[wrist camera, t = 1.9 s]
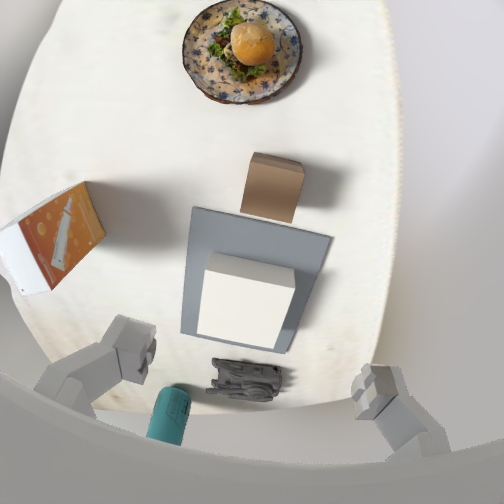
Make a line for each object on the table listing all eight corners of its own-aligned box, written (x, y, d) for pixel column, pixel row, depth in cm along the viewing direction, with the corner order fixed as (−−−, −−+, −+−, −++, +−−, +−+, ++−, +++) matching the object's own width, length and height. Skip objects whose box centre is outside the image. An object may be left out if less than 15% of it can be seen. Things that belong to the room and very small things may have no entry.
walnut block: (254, 151, 30) (250, 161, 26) (300, 162, 30) (304, 174, 26) (245, 195, 33) (239, 212, 28) (289, 205, 33) (291, 223, 29)
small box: (107, 235, 36) (52, 293, 25) (75, 244, 38) (21, 298, 26) (84, 179, 33) (16, 221, 21) (53, 193, 34) (-11, 236, 23)
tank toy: (210, 383, 51) (205, 406, 46) (211, 350, 46) (205, 375, 41) (275, 392, 50) (275, 415, 46) (285, 360, 46) (285, 386, 41)
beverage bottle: (154, 382, 52) (124, 472, 34) (180, 377, 50) (152, 475, 32) (175, 400, 54) (152, 486, 37) (201, 396, 52) (180, 489, 35)
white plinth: (211, 251, 36) (205, 269, 32) (293, 269, 36) (295, 288, 33) (203, 313, 41) (196, 333, 37) (273, 328, 41) (273, 348, 38)
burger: (206, -7, 22) (186, -32, 15) (316, 19, 23) (327, -2, 16) (173, 91, 28) (144, 91, 21) (280, 119, 29) (282, 126, 22)
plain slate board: (193, 206, 34) (192, 208, 33) (329, 236, 34) (330, 238, 34) (181, 330, 44) (180, 332, 43) (284, 351, 44) (284, 354, 44)
